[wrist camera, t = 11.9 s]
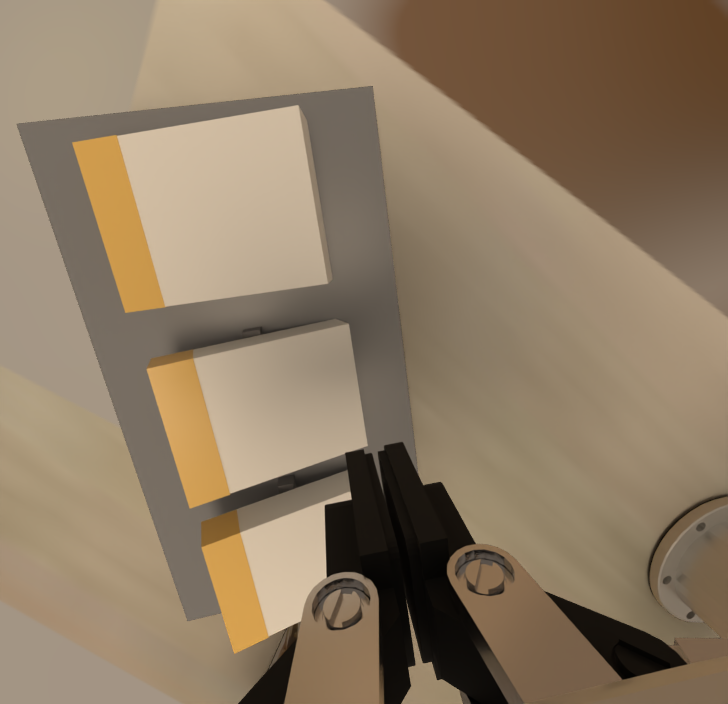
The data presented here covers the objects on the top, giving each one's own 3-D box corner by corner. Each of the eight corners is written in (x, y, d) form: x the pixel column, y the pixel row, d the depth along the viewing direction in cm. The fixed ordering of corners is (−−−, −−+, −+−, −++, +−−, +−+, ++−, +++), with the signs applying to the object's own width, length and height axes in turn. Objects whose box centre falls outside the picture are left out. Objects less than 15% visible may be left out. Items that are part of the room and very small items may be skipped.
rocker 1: (306, 120, 15) (297, 103, 13) (332, 279, 16) (327, 284, 15) (106, 153, 15) (71, 142, 14) (151, 305, 17) (125, 312, 15)
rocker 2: (335, 318, 19) (349, 323, 17) (353, 431, 20) (368, 446, 19) (151, 358, 16) (146, 369, 14) (190, 485, 18) (189, 508, 16)
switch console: (355, 128, 22) (375, 78, 16) (404, 501, 29) (433, 574, 23) (89, 158, 21) (-8, 118, 14) (207, 544, 28) (177, 636, 21)
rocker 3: (359, 465, 21) (373, 482, 19) (374, 557, 22) (388, 580, 21) (201, 521, 18) (201, 547, 16) (231, 620, 20) (234, 653, 18)
